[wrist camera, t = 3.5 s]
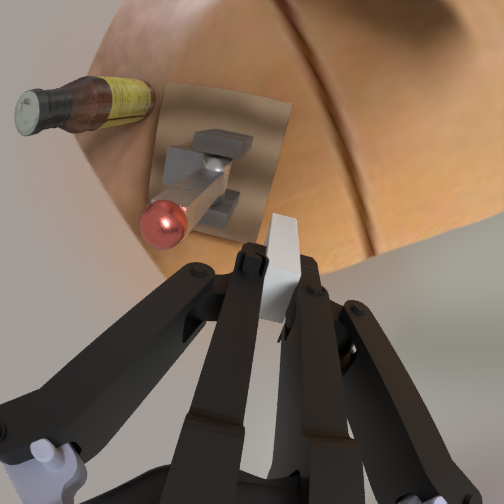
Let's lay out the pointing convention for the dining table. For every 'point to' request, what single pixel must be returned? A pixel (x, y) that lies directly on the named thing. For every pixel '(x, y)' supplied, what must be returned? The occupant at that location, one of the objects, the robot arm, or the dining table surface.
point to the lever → (184, 195)
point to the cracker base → (231, 117)
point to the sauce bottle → (84, 105)
